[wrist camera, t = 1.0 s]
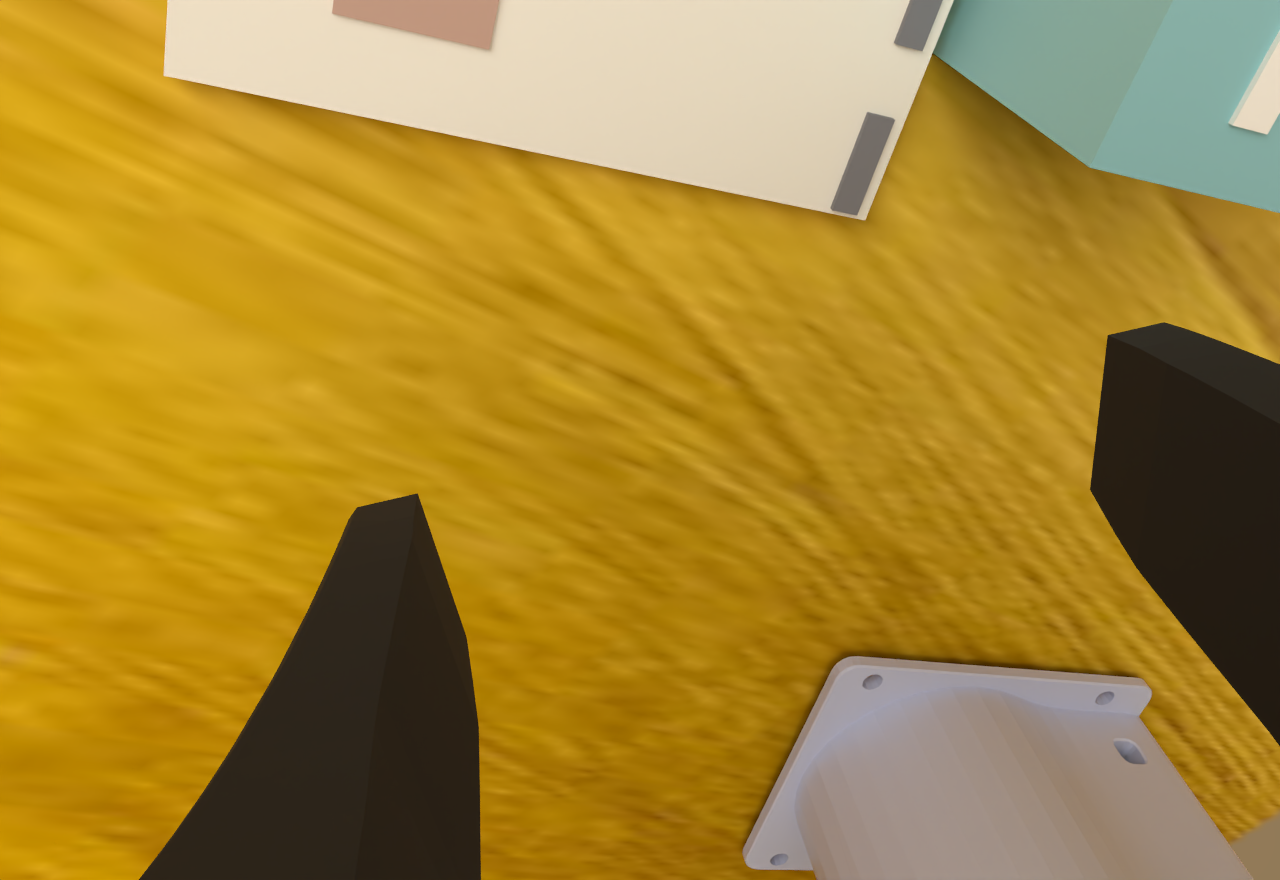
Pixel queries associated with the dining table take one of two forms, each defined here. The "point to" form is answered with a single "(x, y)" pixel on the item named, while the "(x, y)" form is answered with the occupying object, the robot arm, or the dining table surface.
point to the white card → (600, 79)
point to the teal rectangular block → (1137, 84)
